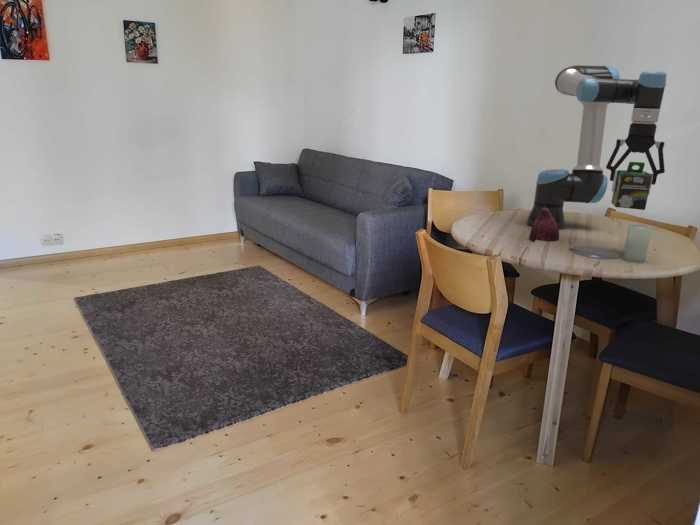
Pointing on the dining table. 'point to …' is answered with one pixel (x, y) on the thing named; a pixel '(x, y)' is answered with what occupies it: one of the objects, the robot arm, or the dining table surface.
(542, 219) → the vegetable
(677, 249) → the dining table surface
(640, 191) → the chalk box
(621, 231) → the dining table surface
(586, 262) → the dining table surface
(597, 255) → the dish
